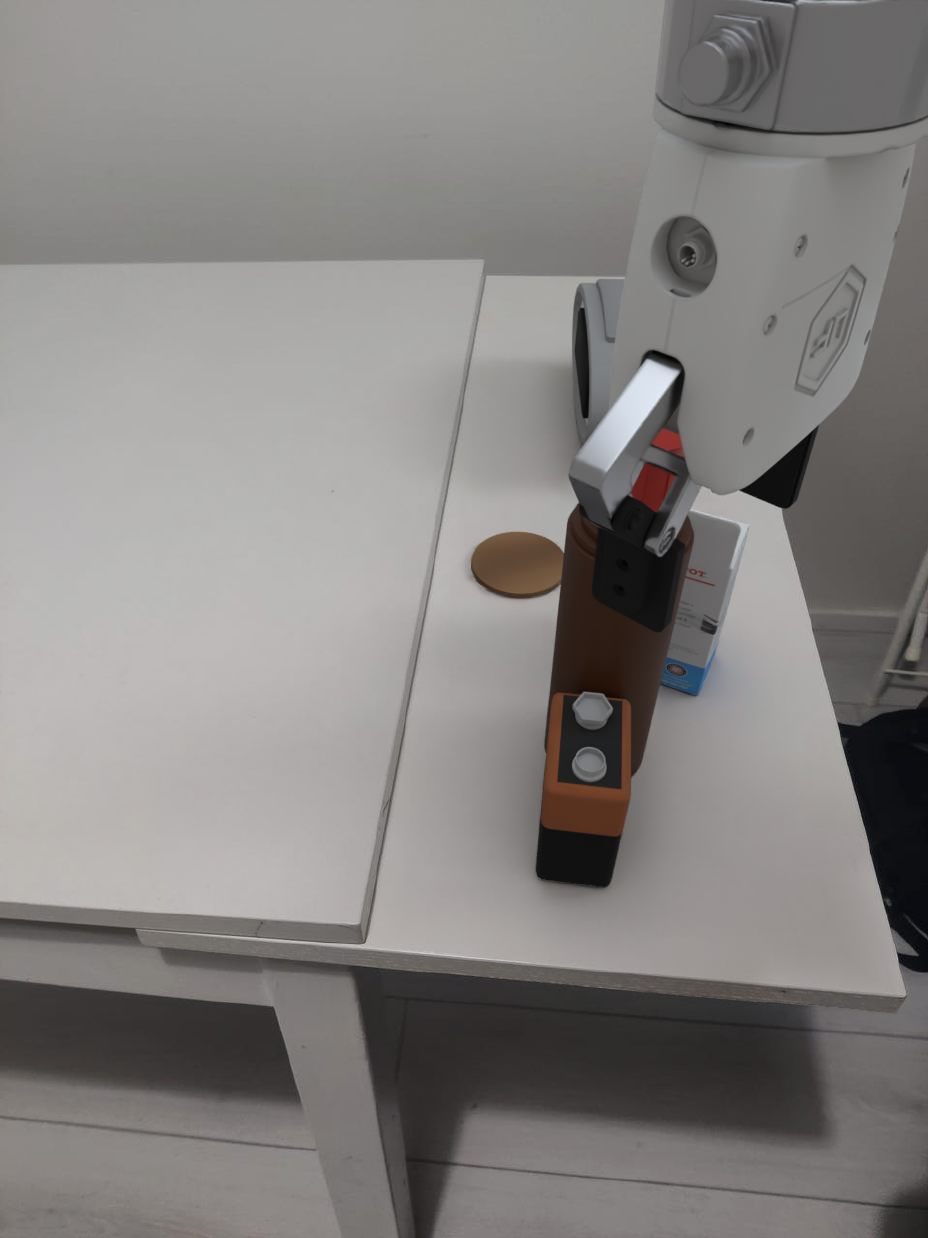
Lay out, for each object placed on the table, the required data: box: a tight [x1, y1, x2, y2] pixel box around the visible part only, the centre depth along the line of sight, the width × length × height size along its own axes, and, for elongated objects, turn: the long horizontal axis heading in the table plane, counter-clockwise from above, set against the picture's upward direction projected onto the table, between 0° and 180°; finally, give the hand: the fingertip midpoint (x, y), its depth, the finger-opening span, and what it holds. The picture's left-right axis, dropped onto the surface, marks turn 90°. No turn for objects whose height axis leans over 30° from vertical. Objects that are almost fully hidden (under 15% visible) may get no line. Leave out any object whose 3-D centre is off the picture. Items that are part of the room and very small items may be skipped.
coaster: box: [470, 531, 564, 599], centre depth 70 cm, size 8×8×1 cm
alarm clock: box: [571, 278, 625, 446], centre depth 81 cm, size 23×6×13 cm, turn 178°
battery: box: [535, 692, 632, 888], centre depth 49 cm, size 4×7×10 cm, turn 172°
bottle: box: [543, 502, 694, 778], centre depth 49 cm, size 6×6×24 cm
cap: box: [631, 429, 685, 513], centre depth 41 cm, size 4×4×4 cm
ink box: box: [660, 508, 750, 696], centre depth 58 cm, size 8×5×15 cm, turn 63°
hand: (698, 549), depth 35 cm, fingers open, 9 cm apart
